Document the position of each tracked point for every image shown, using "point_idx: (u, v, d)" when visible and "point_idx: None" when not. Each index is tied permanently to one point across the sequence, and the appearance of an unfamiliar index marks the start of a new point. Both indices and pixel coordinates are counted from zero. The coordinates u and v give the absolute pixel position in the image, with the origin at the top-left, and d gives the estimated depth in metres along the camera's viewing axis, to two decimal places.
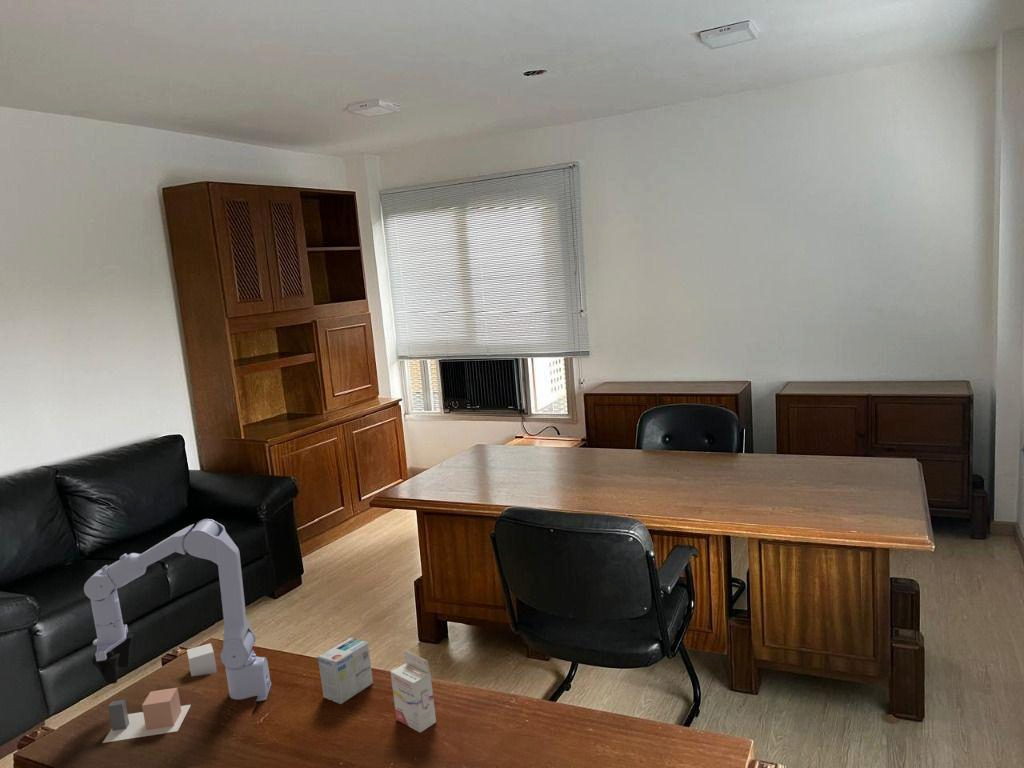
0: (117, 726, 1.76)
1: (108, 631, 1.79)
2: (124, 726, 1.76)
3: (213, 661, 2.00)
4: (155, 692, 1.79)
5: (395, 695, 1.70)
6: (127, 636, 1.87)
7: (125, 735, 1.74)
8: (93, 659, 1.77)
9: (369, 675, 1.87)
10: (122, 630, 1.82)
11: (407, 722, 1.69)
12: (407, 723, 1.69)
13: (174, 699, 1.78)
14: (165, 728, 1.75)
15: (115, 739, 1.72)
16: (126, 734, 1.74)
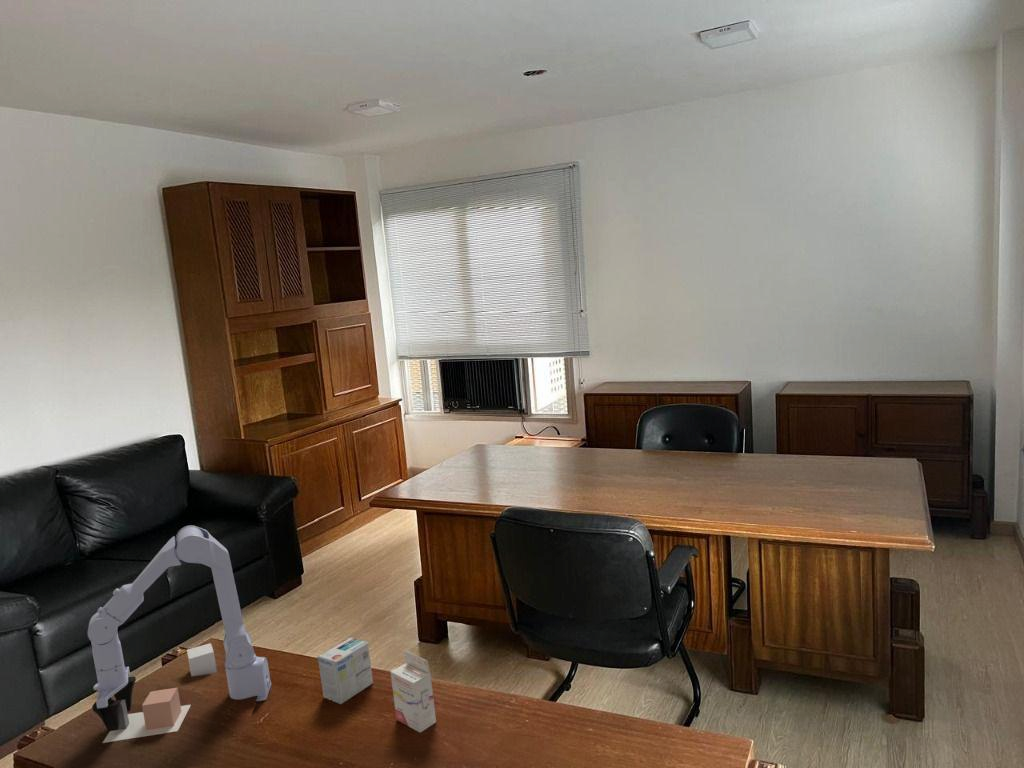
0: None
1: (109, 676, 1.72)
2: (124, 726, 1.76)
3: (213, 661, 2.00)
4: (155, 692, 1.79)
5: (395, 695, 1.70)
6: (129, 679, 1.81)
7: (125, 735, 1.74)
8: (94, 706, 1.70)
9: (369, 675, 1.87)
10: (124, 674, 1.75)
11: (407, 722, 1.69)
12: (407, 723, 1.69)
13: (174, 699, 1.78)
14: (165, 728, 1.75)
15: (115, 739, 1.72)
16: (126, 734, 1.74)
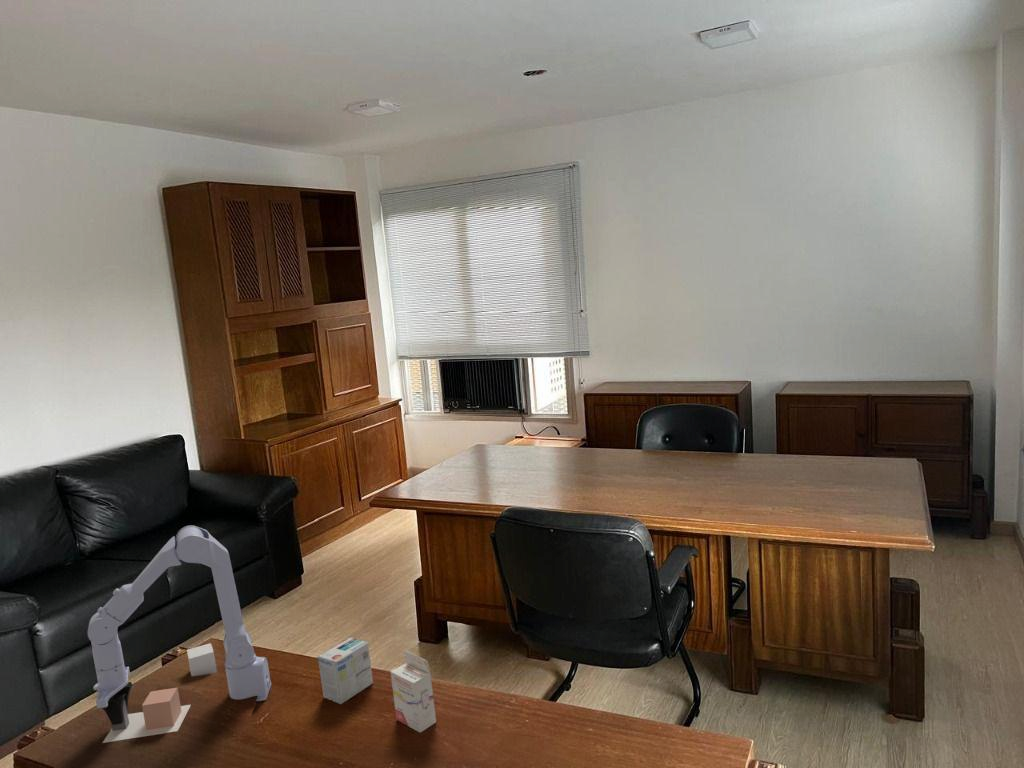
0: (117, 726, 1.76)
1: (109, 676, 1.72)
2: (124, 726, 1.76)
3: (213, 661, 2.00)
4: (155, 692, 1.79)
5: (395, 695, 1.70)
6: None
7: (125, 735, 1.74)
8: None
9: (369, 675, 1.87)
10: (124, 674, 1.75)
11: (407, 722, 1.69)
12: (407, 723, 1.69)
13: (174, 699, 1.78)
14: (165, 728, 1.75)
15: (115, 739, 1.72)
16: (126, 734, 1.74)
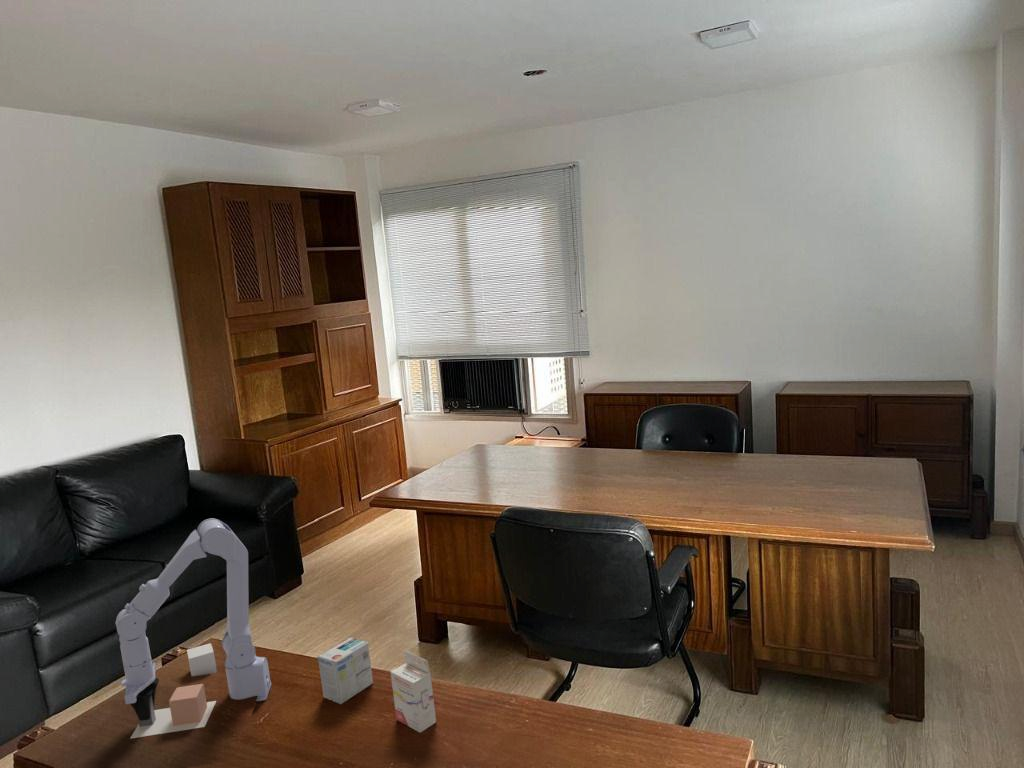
0: (144, 722, 1.77)
1: (137, 671, 1.73)
2: (151, 722, 1.77)
3: (213, 661, 2.00)
4: (181, 688, 1.80)
5: (395, 695, 1.70)
6: None
7: (152, 731, 1.74)
8: None
9: (369, 675, 1.87)
10: (151, 670, 1.76)
11: (407, 722, 1.69)
12: (407, 723, 1.69)
13: (201, 695, 1.79)
14: (192, 724, 1.75)
15: (142, 735, 1.73)
16: (153, 730, 1.75)
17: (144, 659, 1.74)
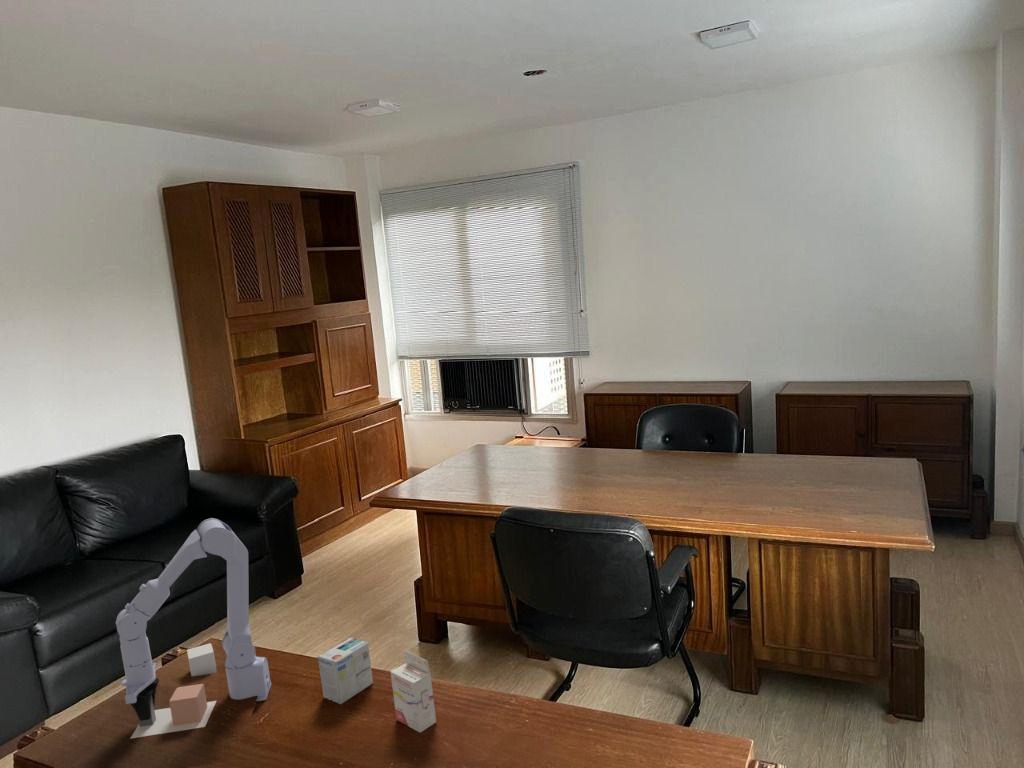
0: (144, 722, 1.77)
1: (137, 671, 1.73)
2: (151, 722, 1.77)
3: (213, 661, 2.00)
4: (181, 688, 1.80)
5: (395, 695, 1.70)
6: None
7: (152, 731, 1.74)
8: None
9: (369, 675, 1.87)
10: (151, 670, 1.76)
11: (407, 722, 1.69)
12: (407, 723, 1.69)
13: (201, 695, 1.79)
14: (192, 724, 1.75)
15: (143, 735, 1.73)
16: (153, 730, 1.75)
17: (144, 659, 1.74)
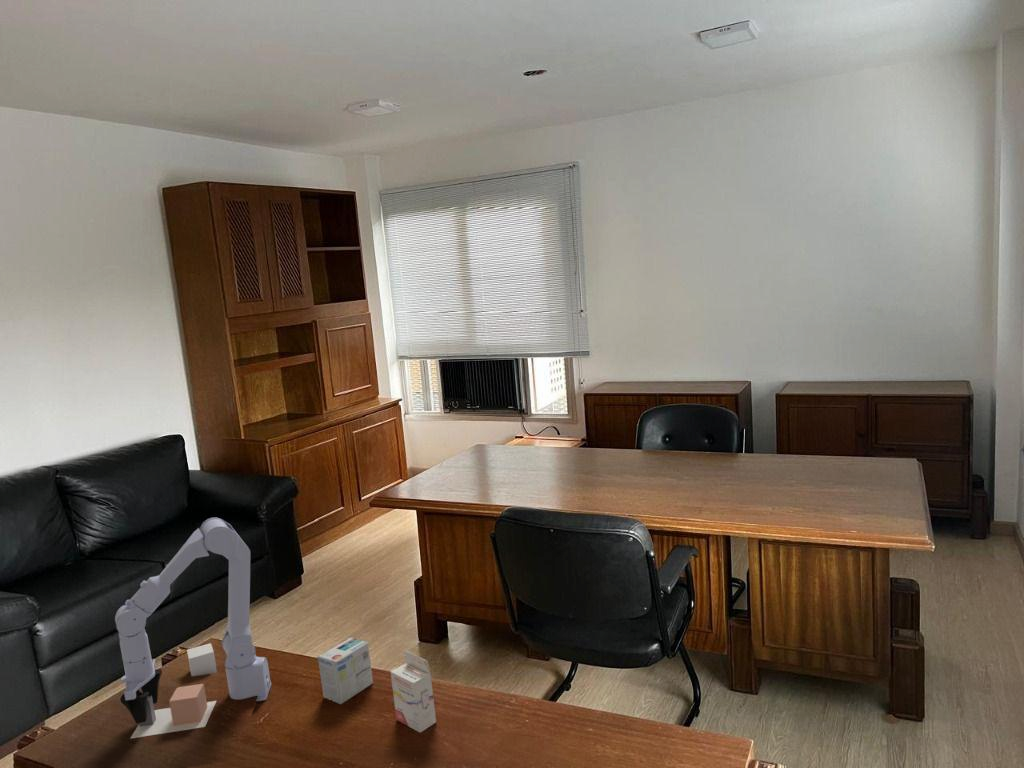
0: (144, 722, 1.77)
1: (136, 668, 1.73)
2: (151, 722, 1.77)
3: (213, 661, 2.00)
4: (181, 688, 1.80)
5: (395, 695, 1.70)
6: (155, 672, 1.81)
7: (152, 731, 1.74)
8: (122, 698, 1.71)
9: (369, 675, 1.87)
10: (151, 666, 1.76)
11: (407, 722, 1.69)
12: (407, 723, 1.69)
13: (201, 695, 1.79)
14: (192, 724, 1.75)
15: (143, 735, 1.73)
16: (153, 730, 1.75)
17: (144, 655, 1.74)
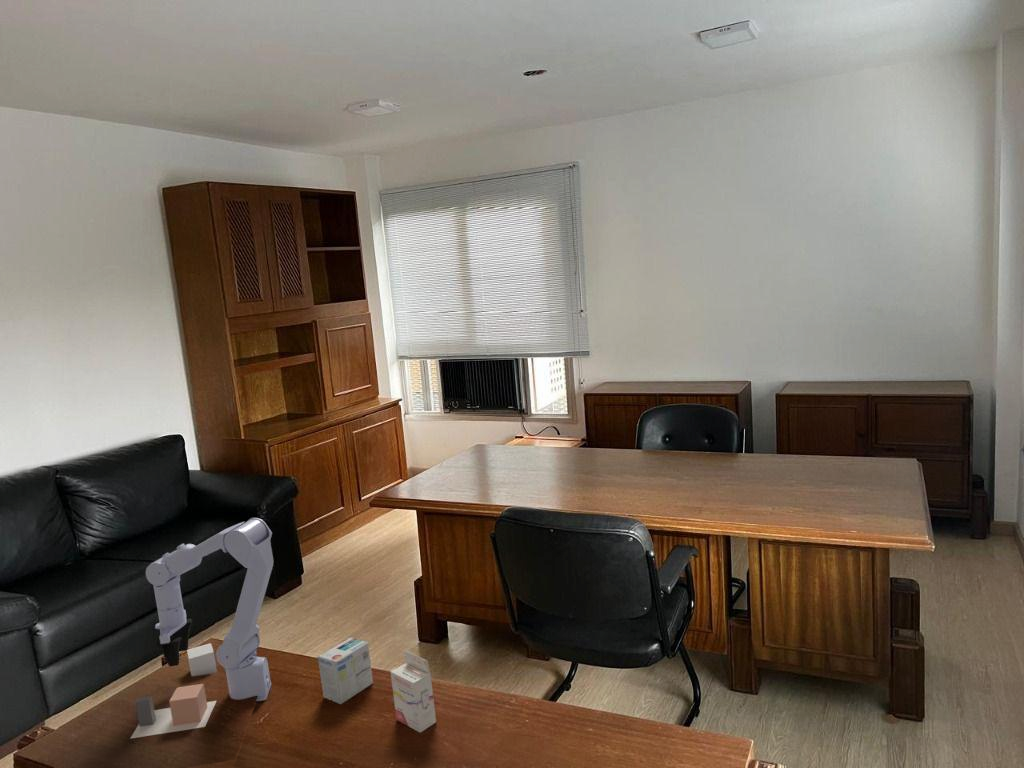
0: (144, 722, 1.77)
1: (170, 615, 1.86)
2: (151, 722, 1.77)
3: (213, 661, 2.00)
4: (181, 688, 1.80)
5: (395, 695, 1.70)
6: (186, 621, 1.95)
7: (152, 731, 1.74)
8: (157, 642, 1.84)
9: (369, 675, 1.87)
10: (183, 614, 1.89)
11: (407, 722, 1.69)
12: (407, 723, 1.69)
13: (201, 695, 1.79)
14: (192, 724, 1.75)
15: (143, 735, 1.73)
16: (153, 730, 1.75)
17: (168, 606, 1.86)
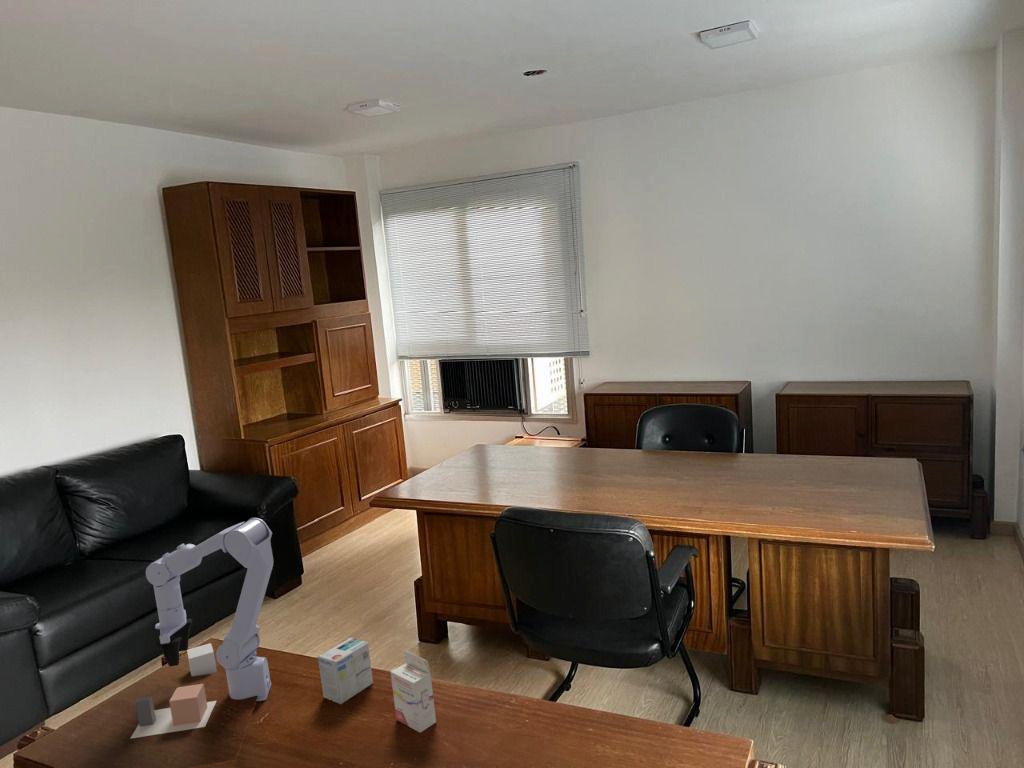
0: (144, 722, 1.77)
1: (170, 615, 1.86)
2: (151, 722, 1.77)
3: (213, 661, 2.00)
4: (181, 688, 1.80)
5: (395, 695, 1.70)
6: (186, 621, 1.95)
7: (152, 731, 1.74)
8: (157, 642, 1.84)
9: (369, 675, 1.87)
10: (183, 614, 1.89)
11: (407, 722, 1.69)
12: (407, 723, 1.69)
13: (201, 695, 1.79)
14: (192, 724, 1.75)
15: (143, 735, 1.73)
16: (153, 730, 1.75)
17: (168, 606, 1.86)
